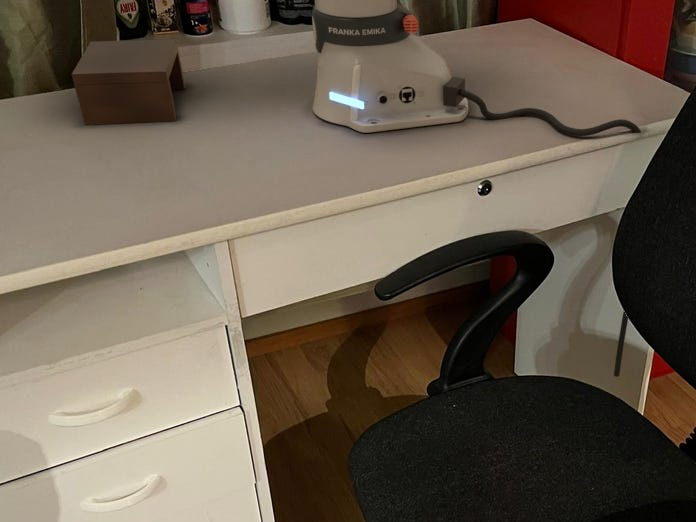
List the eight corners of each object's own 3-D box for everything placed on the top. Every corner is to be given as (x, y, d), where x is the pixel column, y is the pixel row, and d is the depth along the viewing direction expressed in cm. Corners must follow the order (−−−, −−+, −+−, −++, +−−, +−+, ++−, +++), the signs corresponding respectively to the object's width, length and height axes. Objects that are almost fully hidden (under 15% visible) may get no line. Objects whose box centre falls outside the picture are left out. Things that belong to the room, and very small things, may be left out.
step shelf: (185, 86, 131) (176, 39, 127) (175, 121, 120) (165, 71, 116) (102, 89, 129) (90, 41, 125) (84, 125, 118) (71, 74, 114)
